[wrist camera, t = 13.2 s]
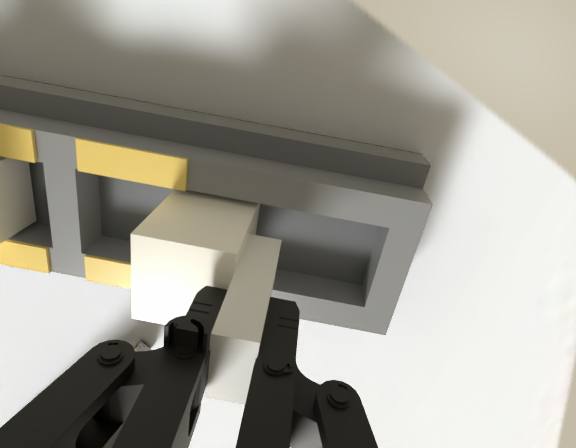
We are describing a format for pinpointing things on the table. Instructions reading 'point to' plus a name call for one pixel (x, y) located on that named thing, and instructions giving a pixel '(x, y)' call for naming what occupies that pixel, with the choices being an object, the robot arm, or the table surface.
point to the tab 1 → (15, 197)
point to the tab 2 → (186, 251)
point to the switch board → (217, 181)
